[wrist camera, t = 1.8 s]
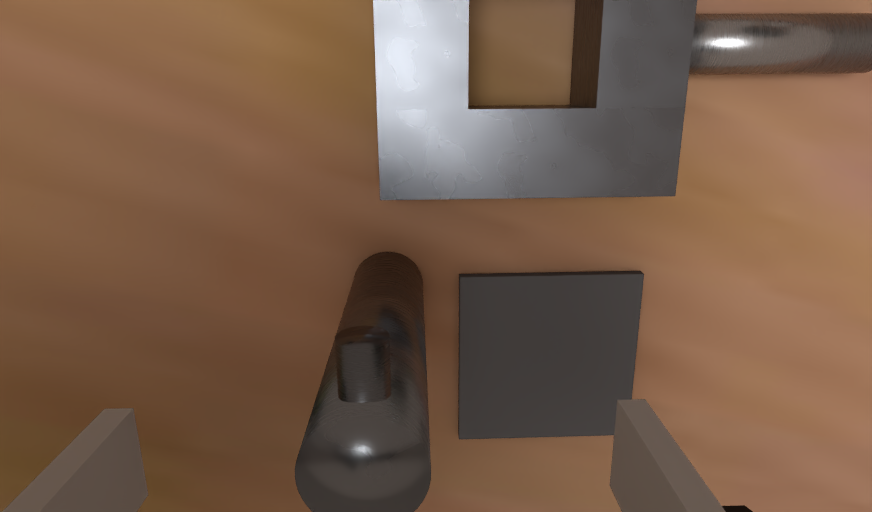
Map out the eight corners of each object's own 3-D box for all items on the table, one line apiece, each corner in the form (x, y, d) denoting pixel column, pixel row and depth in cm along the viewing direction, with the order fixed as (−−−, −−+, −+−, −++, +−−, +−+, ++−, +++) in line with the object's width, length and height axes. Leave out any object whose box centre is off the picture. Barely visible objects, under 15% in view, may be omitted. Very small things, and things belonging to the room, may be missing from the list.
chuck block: (384, 183, 27) (380, 200, 23) (375, -109, 24) (368, -146, 20) (824, 178, 28) (889, 193, 24) (876, -106, 24) (963, -143, 20)
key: (356, 345, 29) (304, 579, 15) (350, 221, 27) (285, 361, 14) (423, 343, 29) (431, 575, 15) (421, 221, 28) (429, 357, 14)
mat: (458, 433, 31) (459, 439, 30) (459, 274, 28) (460, 277, 28) (624, 429, 31) (627, 434, 31) (640, 270, 29) (644, 274, 28)
